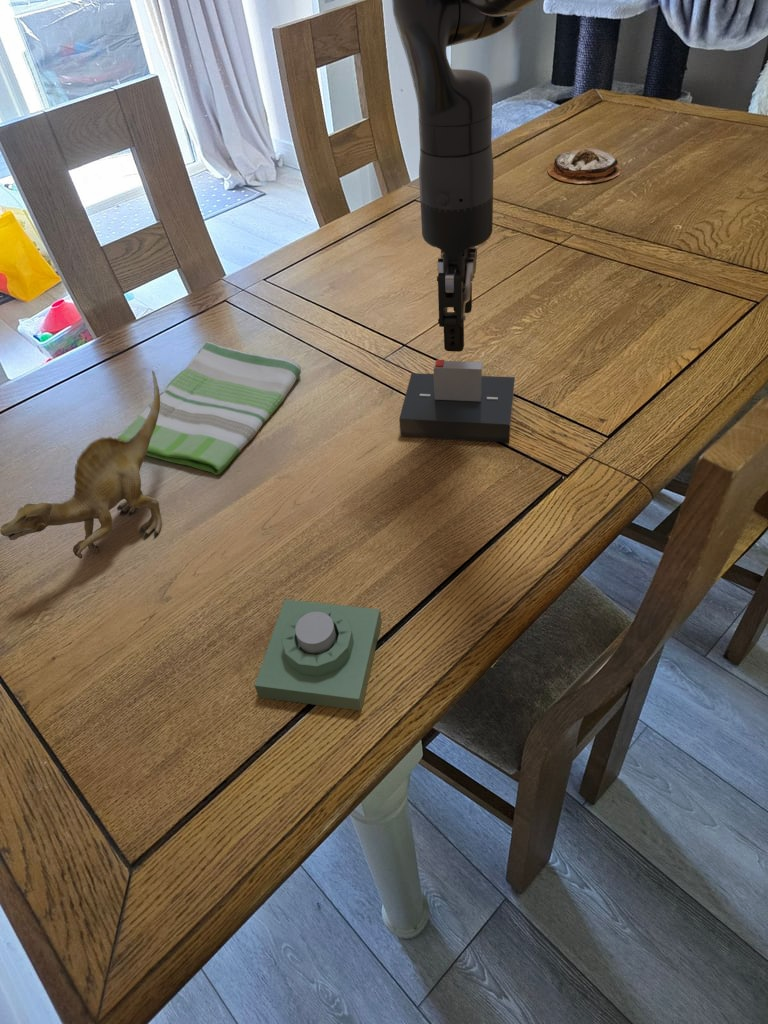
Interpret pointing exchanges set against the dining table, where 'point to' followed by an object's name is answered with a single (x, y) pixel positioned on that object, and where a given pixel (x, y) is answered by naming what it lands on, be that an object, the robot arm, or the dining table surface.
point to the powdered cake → (584, 166)
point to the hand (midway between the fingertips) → (458, 329)
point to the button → (315, 632)
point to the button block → (321, 658)
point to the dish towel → (216, 406)
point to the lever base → (458, 411)
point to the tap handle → (458, 380)
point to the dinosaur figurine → (98, 489)
